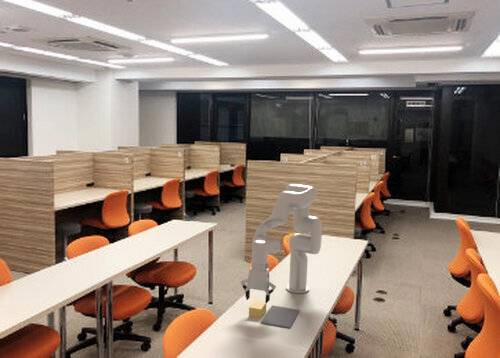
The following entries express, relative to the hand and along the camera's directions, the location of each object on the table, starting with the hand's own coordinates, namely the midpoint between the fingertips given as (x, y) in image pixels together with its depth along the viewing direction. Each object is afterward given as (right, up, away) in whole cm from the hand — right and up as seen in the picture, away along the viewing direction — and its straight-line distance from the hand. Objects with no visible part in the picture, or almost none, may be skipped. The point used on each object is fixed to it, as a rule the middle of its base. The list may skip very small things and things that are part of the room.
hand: (257, 300), depth 219 cm
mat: (+11, -7, -2) cm, 13 cm away
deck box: (0, -7, +2) cm, 7 cm away
